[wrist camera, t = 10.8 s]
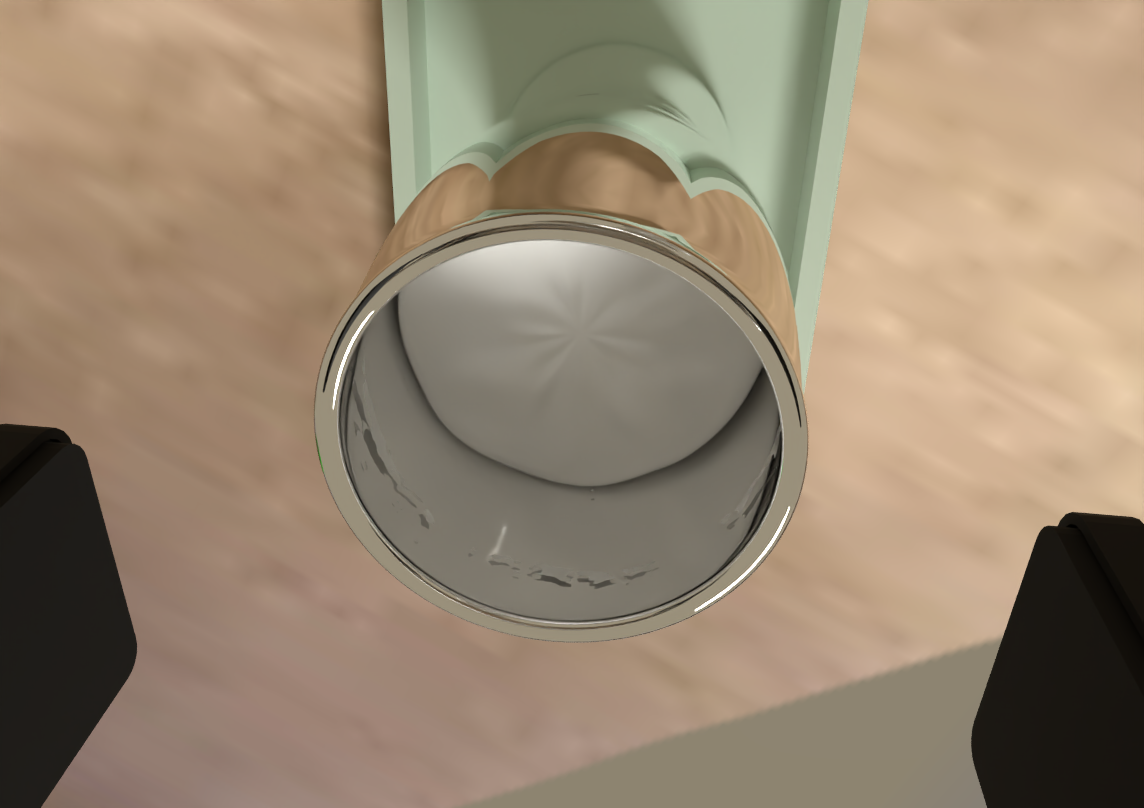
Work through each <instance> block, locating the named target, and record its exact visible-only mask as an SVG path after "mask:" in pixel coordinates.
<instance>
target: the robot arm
mask: <svg viewBox="0 0 1144 808" xmlns="http://www.w3.org/2000/svg"><path fill="white" fill-rule="evenodd" d="M136 654H137V642H136V636H135V633H134V629H133V625H132V622H131V618H130V614H129V611H128V607H127V603H126V600H125V596H124V592H123V589H122V585H121V581H120V578H119V574H118V570H117V567H116V563H115V559H114V556H113V552H112V548H111V545H110V541H109V537H108V534H107V530H106V526H105V523H104V519H103V515H102V512H101V508H100V504H99V500H98V497H97V493H96V489H95V486H94V482H93V478H92V475H91V471H90V467H89V464H88V460H87V457H86V455H85V452H84V450H83V449H82V448H81V447H80V446H78V445H76V444H72V442H71V440H70V438H69V436H68V435H67V434H66V433H65V432H64V431H62V430H60V429H57V428H50V427H38V426H26V425H14V424H0V808H41V806H42V805H43V803H44V802H45V800H46V799H47V798H48V796H49V795H50V793H51V792H52V790H53V789H54V787H55V786H56V784H57V783H58V781H59V780H60V778H61V777H62V775H63V774H64V772H65V771H66V769H67V768H68V766H69V765H70V763H71V762H72V760H73V759H74V757H75V756H76V755H77V753H78V752H79V750H80V749H81V747H82V746H83V744H84V743H85V741H86V740H87V738H88V737H89V735H90V734H91V732H92V731H93V729H94V728H95V726H96V725H97V723H98V722H99V720H100V719H101V717H102V716H103V714H104V713H105V712H106V710H107V709H108V707H109V706H110V704H111V703H112V701H113V700H114V698H115V697H116V695H117V694H118V692H119V691H120V689H121V688H122V686H123V685H124V683H125V682H126V680H127V679H128V677H129V675H130V674H131V672H132V669H133V666H134V664H135V659H136ZM971 740H972V741H971V747H972V757H973V761H974V766H975V769H976V772H977V776H978V779H979V782H980V786H981V789H982V792H983V795H984V799H985V802H986V805H987V808H1144V524H1143V523H1142V522H1141V521H1140V520H1139V519H1136V518H1133V517H1126V516H1113V515H1101V514H1089V513H1077V512H1071V513H1068V514H1066V515H1065V516H1064V517H1063V518H1062V519H1061V520H1060V522H1059V525H1058V526H1046V527H1044V528H1043V529H1042V530H1041V531H1040V532H1039V535H1038V537H1037V539H1036V542H1035V545H1034V548H1033V551H1032V554H1031V557H1030V560H1029V562H1028V565H1027V568H1026V571H1025V574H1024V577H1023V580H1022V583H1021V586H1020V589H1019V592H1018V595H1017V598H1016V601H1015V603H1014V606H1013V609H1012V612H1011V615H1010V618H1009V621H1008V624H1007V627H1006V630H1005V633H1004V636H1003V639H1002V642H1001V644H1000V647H999V650H998V653H997V656H996V659H995V662H994V665H993V668H992V671H991V674H990V677H989V680H988V683H987V686H986V689H985V691H984V694H983V698H982V700H981V703H980V706H979V709H978V712H977V715H976V718H975V721H974V724H973V729H972V738H971Z"/></svg>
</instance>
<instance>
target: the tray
mask: <svg viewBox="0 0 1144 808" xmlns="http://www.w3.org/2000/svg"><path fill="white" fill-rule="evenodd" d="M867 7H868V0H382V13H383V29H384V46H385V63H386V79H387V96H388V113H389V130H390V146H391V163H392V180H393V197H394V213H395V224H396V223H397V221H398V220H399V218H400V217H401V215H402V214H403V213H404V211H405V210H406V208H407V207H408V205H409V204H410V202H411V201H412V200H413V198H414V197H415V195H416V194H417V193H418V192H419V190H420V189H421V188H422V187H423V186H424V185H425V184H426V182H427V181H428V180H429V179H430V178H431V177H432V176H433V175H434V174H435V173H436V172H437V171H438V170H439V169H440V168H441V167H442V166H443V165H444V164H445V163H446V162H447V161H448V160H449V159H450V158H451V157H452V156H453V155H454V154H455V153H456V152H457V151H458V150H459V149H461V148H462V147H463V146H464V145H465V144H467V143H468V142H469V141H470V140H472V139H473V138H475V137H476V136H478V135H479V134H481V133H482V132H484V131H485V130H487V129H489V128H491V127H493V126H494V125H496V124H498V123H500V122H502V121H504V120H506V119H508V118H509V117H510V115H511V113H512V111H513V109H514V106H515V105H516V103H517V101H518V99H519V98H520V96H521V95H522V93H523V92H524V91H525V89H526V88H527V87H528V86H529V84H530V83H531V82H532V81H533V80H534V79H535V78H536V77H537V76H538V75H539V74H540V73H541V72H542V71H544V70H545V69H546V68H547V67H549V66H550V65H552V64H553V63H555V62H556V61H558V60H559V59H561V58H563V57H565V56H567V55H569V54H571V53H573V52H576V51H578V50H581V49H584V48H588V47H592V46H597V45H604V44H629V45H636V46H641V47H645V48H649V49H652V50H655V51H658V52H660V53H663V54H665V55H667V56H669V57H671V58H673V59H675V60H676V61H678V62H679V63H681V64H682V65H684V66H685V67H686V68H688V69H689V70H690V71H691V72H692V73H694V74H695V75H696V76H697V77H698V78H699V79H700V80H701V81H702V82H703V84H704V85H705V86H706V87H707V88H708V90H709V91H710V92H711V94H712V95H713V97H714V99H715V100H716V102H717V104H718V106H719V108H720V110H721V112H722V114H723V117H724V119H725V122H726V125H727V129H728V133H729V138H730V144H731V163H732V165H733V166H734V167H735V168H736V170H737V171H738V172H739V173H740V175H741V176H742V177H743V178H744V180H745V181H746V182H747V184H748V185H749V186H750V188H751V189H752V191H753V192H754V194H755V196H756V197H757V199H758V201H759V202H760V204H761V206H762V208H763V210H764V212H765V214H766V216H767V219H768V221H769V224H770V226H771V229H772V231H773V234H774V236H775V239H776V241H777V244H778V246H779V249H780V252H781V254H782V257H783V260H784V263H785V267H786V271H787V275H788V280H789V284H790V289H791V294H792V299H793V304H794V309H795V315H796V320H797V329H798V340H799V351H800V361H801V380H802V391H803V395H804V390H805V384H806V378H807V371H808V365H809V359H810V353H811V347H812V341H813V335H814V329H815V323H816V317H817V311H818V305H819V299H820V292H821V286H822V280H823V274H824V268H825V262H826V256H827V250H828V244H829V238H830V232H831V226H832V219H833V213H834V207H835V201H836V195H837V189H838V183H839V177H840V171H841V165H842V159H843V153H844V146H845V140H846V134H847V128H848V122H849V116H850V110H851V104H852V98H853V92H854V86H855V80H856V73H857V67H858V61H859V55H860V49H861V43H862V37H863V31H864V25H865V19H866V13H867Z"/></svg>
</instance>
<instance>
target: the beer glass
mask: <svg viewBox="0 0 1144 808" xmlns="http://www.w3.org/2000/svg"><path fill="white" fill-rule="evenodd" d="M314 431H315V440H316V446H317V452H318V456H319V461H320V464H321V468H322V471H323V474H324V477H325V480H326V483H327V486H328V488H329V491H330V493H331V495H332V497H333V499H334V501H335V503H336V505H337V507H338V509H339V511H340V513H341V514H342V516H343V518H344V519H345V521H346V523H347V524H348V526H349V527H350V529H351V530H352V531H353V533H354V534H355V536H356V537H357V538H358V540H359V541H360V542H361V543H362V545H363V546H364V547H365V548H366V549H367V551H368V552H369V553H370V554H371V555H372V556H373V557H374V558H375V559H376V560H377V561H378V562H379V563H380V564H381V565H382V566H383V567H384V568H385V569H386V570H387V571H388V572H389V573H390V574H391V575H393V576H394V577H395V578H396V579H397V580H398V581H400V582H401V583H402V584H404V585H405V586H406V587H407V588H409V589H410V590H412V591H413V592H414V593H416V594H417V595H419V596H420V597H422V598H423V599H425V600H427V601H428V602H430V603H432V604H433V605H435V606H437V607H439V608H441V609H442V610H444V611H446V612H448V613H450V614H452V615H455V616H457V617H459V618H461V619H463V620H466V621H468V622H471V623H473V624H476V625H479V626H482V627H485V628H488V629H491V630H494V631H498V632H501V633H505V634H509V635H513V636H518V637H523V638H529V639H535V640H543V641H553V642H599V641H609V640H617V639H623V638H629V637H634V636H638V635H642V634H646V633H650V632H653V631H656V630H660V629H663V628H665V627H668V626H671V625H674V624H676V623H679V622H681V621H683V620H685V619H688V618H690V617H692V616H694V615H696V614H698V613H700V612H702V611H703V610H705V609H707V608H709V607H710V606H712V605H713V604H715V603H717V602H718V601H720V600H721V599H723V598H724V597H725V596H727V595H728V594H730V593H731V592H732V591H734V590H735V589H736V588H737V587H738V586H740V585H741V584H742V583H743V582H744V581H745V580H746V579H748V578H749V577H750V576H751V575H752V574H753V573H754V572H755V571H756V570H757V568H758V567H759V566H760V565H761V564H762V563H763V562H764V561H765V559H766V558H767V557H768V556H769V554H770V553H771V552H772V550H773V549H774V548H775V546H776V545H777V543H778V542H779V540H780V538H781V537H782V535H783V533H784V532H785V530H786V528H787V526H788V524H789V522H790V520H791V518H792V516H793V514H794V511H795V509H796V506H797V504H798V501H799V498H800V495H801V492H802V488H803V484H804V480H805V475H806V469H807V462H808V452H809V427H808V417H807V410H806V404H805V399H804V395H803V391H802V380H801V361H800V351H799V340H798V329H797V320H796V315H795V309H794V304H793V299H792V294H791V289H790V284H789V280H788V275H787V271H786V267H785V263H784V260H783V257H782V254H781V252H780V249H779V246H778V244H777V241H776V239H775V236H774V234H773V231H772V229H771V226H770V224H769V221H768V219H767V216H766V214H765V212H764V210H763V208H762V206H761V204H760V202H759V201H758V199H757V197H756V196H755V194H754V192H753V191H752V189H751V188H750V186H749V185H748V184H747V182H746V181H745V180H744V178H743V177H742V176H741V175H740V173H739V172H738V171H737V170H736V168H735V167H734V166H733V165H732V163H731V144H730V138H729V133H728V129H727V125H726V122H725V119H724V117H723V114H722V112H721V110H720V108H719V106H718V104H717V102H716V100H715V99H714V97H713V95H712V94H711V92H710V91H709V90H708V88H707V87H706V86H705V85H704V84H703V82H702V81H701V80H700V79H699V78H698V77H697V76H696V75H695V74H694V73H692V72H691V71H690V70H689V69H688V68H686V67H685V66H684V65H682V64H681V63H679V62H678V61H676V60H675V59H673V58H671V57H669V56H667V55H665V54H663V53H660V52H658V51H655V50H652V49H649V48H645V47H641V46H636V45H629V44H604V45H597V46H592V47H588V48H584V49H581V50H578V51H576V52H573V53H571V54H569V55H567V56H565V57H563V58H561V59H559V60H558V61H556V62H555V63H553V64H552V65H550V66H549V67H547V68H546V69H545V70H544V71H542V72H541V73H540V74H539V75H538V76H537V77H536V78H535V79H534V80H533V81H532V82H531V83H530V84H529V86H528V87H527V88H526V89H525V91H524V92H523V93H522V95H521V96H520V98H519V99H518V101H517V103H516V105H515V106H514V109H513V111H512V113H511V115H510V117H509V118H508V119H506V120H504V121H502V122H500V123H498V124H496V125H494V126H493V127H491V128H489V129H487V130H485V131H484V132H482V133H481V134H479V135H478V136H476V137H475V138H473V139H472V140H470V141H469V142H468V143H467V144H465V145H464V146H463V147H462V148H461V149H459V150H458V151H457V152H456V153H455V154H454V155H453V156H452V157H451V158H450V159H449V160H448V161H447V162H446V163H445V164H444V165H443V166H442V167H441V168H440V169H439V170H438V171H437V172H436V173H435V174H434V175H433V176H432V177H431V178H430V179H429V180H428V181H427V182H426V184H425V185H424V186H423V187H422V188H421V189H420V190H419V192H418V193H417V194H416V195H415V197H414V198H413V200H412V201H411V202H410V204H409V205H408V207H407V208H406V210H405V211H404V213H403V214H402V215H401V217H400V218H399V220H398V221H397V223H396V224H395V226H394V227H393V229H392V230H391V232H390V233H389V235H388V236H387V238H386V240H385V242H384V243H383V245H382V247H381V249H380V251H379V252H378V254H377V256H376V258H375V260H374V262H373V263H372V265H371V267H370V269H369V271H368V273H367V275H366V277H365V279H364V281H363V283H362V285H361V287H360V289H359V291H358V293H357V295H356V297H355V298H354V299H353V301H352V302H351V303H350V305H349V306H348V308H347V309H346V311H345V312H344V314H343V315H342V317H341V318H340V320H339V322H338V324H337V325H336V327H335V329H334V331H333V333H332V335H331V337H330V340H329V342H328V344H327V347H326V350H325V352H324V355H323V358H322V362H321V365H320V369H319V373H318V378H317V383H316V389H315V399H314Z"/></svg>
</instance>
